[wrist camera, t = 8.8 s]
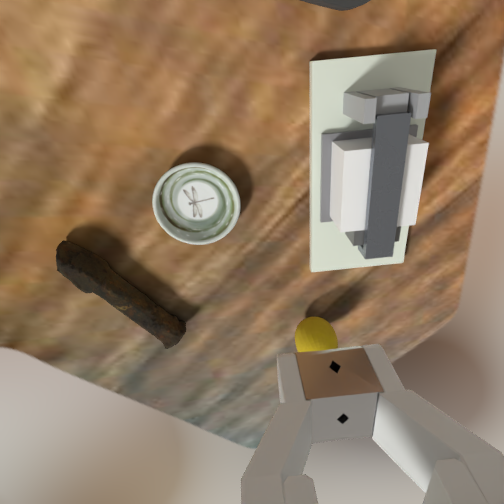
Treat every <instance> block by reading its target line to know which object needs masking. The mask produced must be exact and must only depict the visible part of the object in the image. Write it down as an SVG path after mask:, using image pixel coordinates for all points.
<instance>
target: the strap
mask: <svg viewBox="0 0 504 504" xmlns="http://www.w3.org/2000/svg"><path fill="white" fill-rule="evenodd" d="M411 114H412V113H411V112H408V111H407V112H397V113H386V114H376V115H375V123H373V134H372V146H371V159H370V171H369V183H368V195H367V207H366V220H365V232H364V244H363V245H358V250H359V251H360V253H361V254H362V256H363V257H364V259H374V258H384V257H393V251H394V243H395V236H396V228H397V220H398V213H399V205H400V197H401V190H402V182H403V175H404V167H405V159H406V152H407V144H408V136H409V129H410V121H411Z"/></svg>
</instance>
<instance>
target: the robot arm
mask: <svg viewBox="0 0 504 504" xmlns="http://www.w3.org/2000/svg"><path fill="white" fill-rule="evenodd" d="M277 369H278V384H279V395H280V404H279V406H278V408H277V410H276V412H275V414H274V415H273V417H272V419H271V421H270V423H269V425H268V427H267V429H266V431H265V433H264V435H263V437H262V439H261V441H260V443H259V445H258V447H257V449H256V451H255V453H254V455H253V457H252V459H251V461H250V463H249V465H248V467H247V468H246V470H245V472H244V474H243V476H242V478H241V504H318V501H317V496H316V491H315V487H314V482H313V479H311V478H310V477H308V476H307V475H306V474H304V475H302V473H303V470H304V467H305V464H306V461H307V458H308V455H309V452H310V449H311V446H312V444H313V443H320V442H327V441H335V440H343V439H355V438H367V437H373V438H372V439H373V440H374V441H375V442H376V443H377V444H378V445H379V446H380V447H381V448H382V449H383V450H384V451H385V452H386V453H387V454H388V455H389V456H390V457H391V458H392V459H393V461H394V462H395V463H396V464H397V465H398V466H399V467H400V468H401V469H402V470H403V471H404V472H405V473H406V474H407V475H408V476H409V477H410V478H411V479H412V480H413V481H414V482H415V483H416V484H417V485H418V486H419V487H420V488H421V489H422V490H423V491H424V492H425V493H426V495H425V498H424V501H423V504H504V456H503V454H502V453H501V452H500V451H499V450H497V449H496V448H494V447H493V446H491V445H490V444H488V443H487V442H486V441H484V440H483V439H481V438H480V437H478V436H477V435H476V434H474V433H473V432H471V431H470V430H468V429H467V428H465V427H464V426H463V425H461V424H459V423H458V422H456V421H455V420H454V419H452V418H451V417H449V416H448V415H447V414H445V413H444V412H442V411H441V410H439V409H438V408H436V407H435V406H434V405H432V404H431V403H429V402H428V401H426V400H425V399H423V398H422V397H420V396H419V395H417V394H416V393H415V392H413V391H412V390H405V389H404V387H403V385H402V383H401V381H400V379H399V378H398V376H397V374H396V372H395V370H394V368H393V366H392V365H391V363H390V361H389V359H388V357H387V355H386V353H385V352H384V350H383V348H382V346H381V345H379V344H373V345H364V346H354V347H346V348H337V349H328V350H321V351H308V352H296V353H287V354H277Z"/></svg>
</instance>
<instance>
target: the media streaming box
mask: <svg viewBox="0 0 504 504" xmlns="http://www.w3.org/2000/svg"><path fill="white" fill-rule="evenodd" d="M301 1H304V2H308V3H311V4H315V5H319V6H323V7H327V8H331V9H336V10H349V9H353V8H356V7H358V6H361V5H363V4H365V3H367V2H369V1H370V0H301Z"/></svg>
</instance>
